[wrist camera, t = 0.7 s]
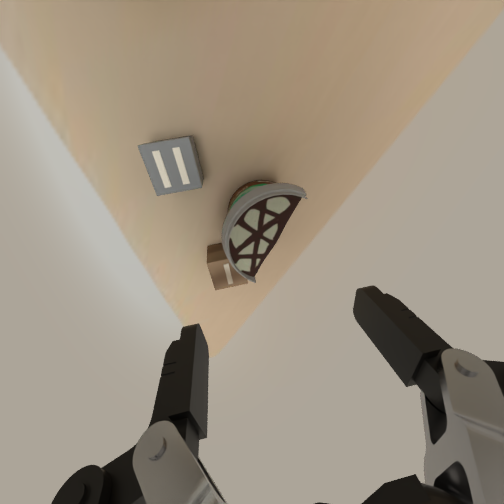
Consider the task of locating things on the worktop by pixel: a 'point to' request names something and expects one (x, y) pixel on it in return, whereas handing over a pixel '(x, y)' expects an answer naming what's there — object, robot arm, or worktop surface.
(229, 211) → the food container
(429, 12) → the worktop surface
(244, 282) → the walnut block
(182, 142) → the slate block
